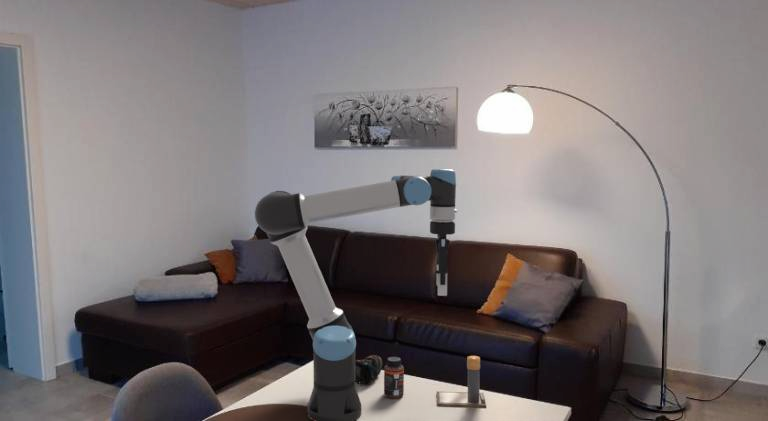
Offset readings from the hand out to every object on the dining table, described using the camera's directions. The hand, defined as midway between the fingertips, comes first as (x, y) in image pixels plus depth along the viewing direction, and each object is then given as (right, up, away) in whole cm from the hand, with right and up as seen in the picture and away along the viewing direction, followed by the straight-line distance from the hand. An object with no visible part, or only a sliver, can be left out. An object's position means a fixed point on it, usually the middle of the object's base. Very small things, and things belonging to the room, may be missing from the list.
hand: (441, 290), depth 175 cm
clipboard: (+5, -32, -4) cm, 33 cm away
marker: (+9, -32, -6) cm, 33 cm away
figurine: (-22, -31, +13) cm, 40 cm away
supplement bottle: (-14, -32, 0) cm, 35 cm away
